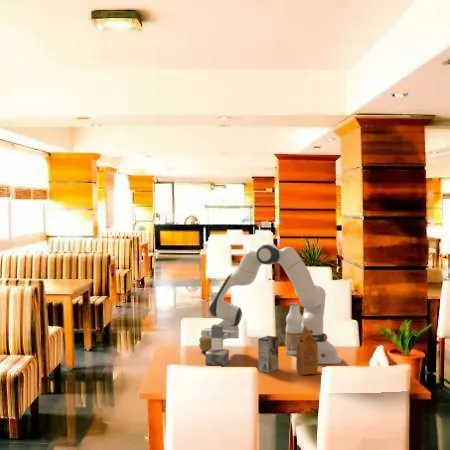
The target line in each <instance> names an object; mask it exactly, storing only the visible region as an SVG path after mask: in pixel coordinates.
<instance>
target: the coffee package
mask: <svg viewBox="0 0 450 450" xmlns="http://www.w3.org/2000/svg"><path fill="white" fill-rule="evenodd" d="M311 333H313V331H312V330H308V328H307V327H306V326H304V328H303V331H302V333H301V335H300V338H299V341H298V347H297V354H296V355H295V356H296V363H295V365H296V366H295V367H296V372H297V373H298V374H299V375H301V376H307V375H315V374H318V367H319V364H318V345H317V343H316V341H315V340H314V338H313V336H312V334H311Z"/></svg>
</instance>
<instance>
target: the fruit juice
mask: <svg viewBox="0 0 450 450" xmlns="http://www.w3.org/2000/svg"><path fill="white" fill-rule="evenodd" d="M299 304H300V302H299V303H298V302H290V303H289V306H290V307H289V310H288V314H287V315H286V318H285V322H286V326H285V354H287V355H290V356H292V355H293V356H296V354H297V347H298V341H299V338H300V335H301V333H302V317H303V315H301V312H300V309H299V306H300V305H299Z"/></svg>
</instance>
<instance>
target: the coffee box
mask: <svg viewBox="0 0 450 450" xmlns="http://www.w3.org/2000/svg"><path fill="white" fill-rule="evenodd" d="M257 341H258V342H257V344H258V346H257V347H258V350H257V351H258V356H257V357H258V371H259V372H264V373H268V374H270V373H271V372H274V371H277V370H278V369H279V337H278V336H274V335H273V336H271V335H266V336H264V337H260V338H258V340H257Z"/></svg>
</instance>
